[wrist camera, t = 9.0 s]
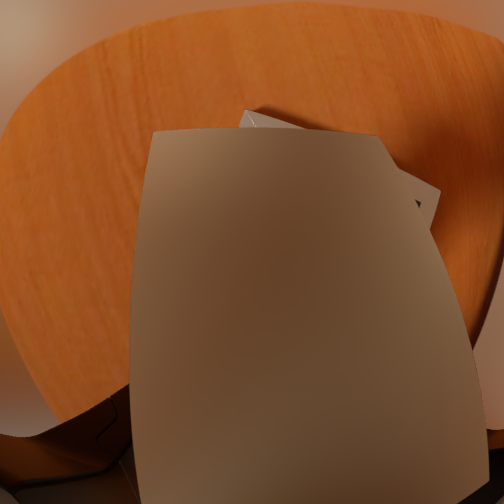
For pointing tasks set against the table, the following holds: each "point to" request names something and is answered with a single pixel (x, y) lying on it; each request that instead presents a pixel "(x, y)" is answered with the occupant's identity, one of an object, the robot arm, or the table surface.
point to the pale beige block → (295, 328)
